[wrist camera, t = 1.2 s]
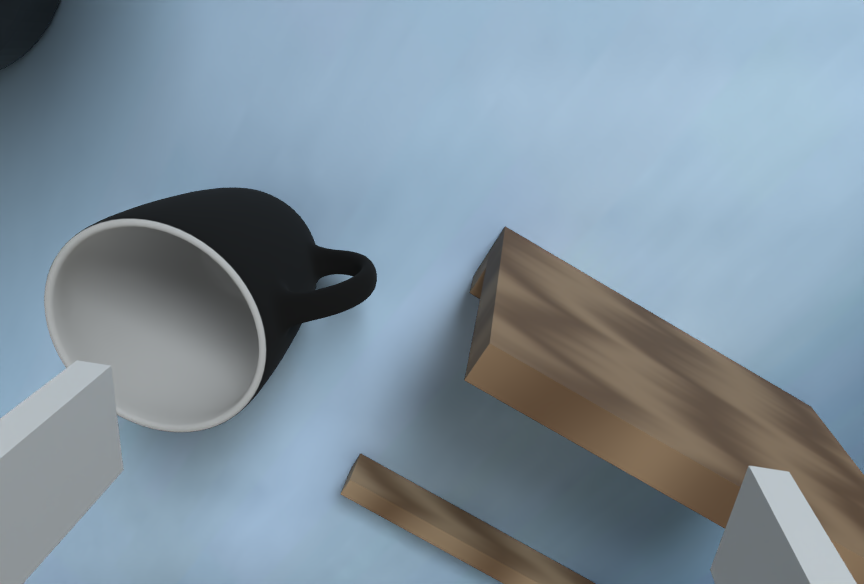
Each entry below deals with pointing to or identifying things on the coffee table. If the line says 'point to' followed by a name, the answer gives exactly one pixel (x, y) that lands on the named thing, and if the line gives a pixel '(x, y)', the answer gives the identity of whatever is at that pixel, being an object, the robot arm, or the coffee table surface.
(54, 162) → the coffee table surface
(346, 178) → the coffee table surface
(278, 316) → the mug
